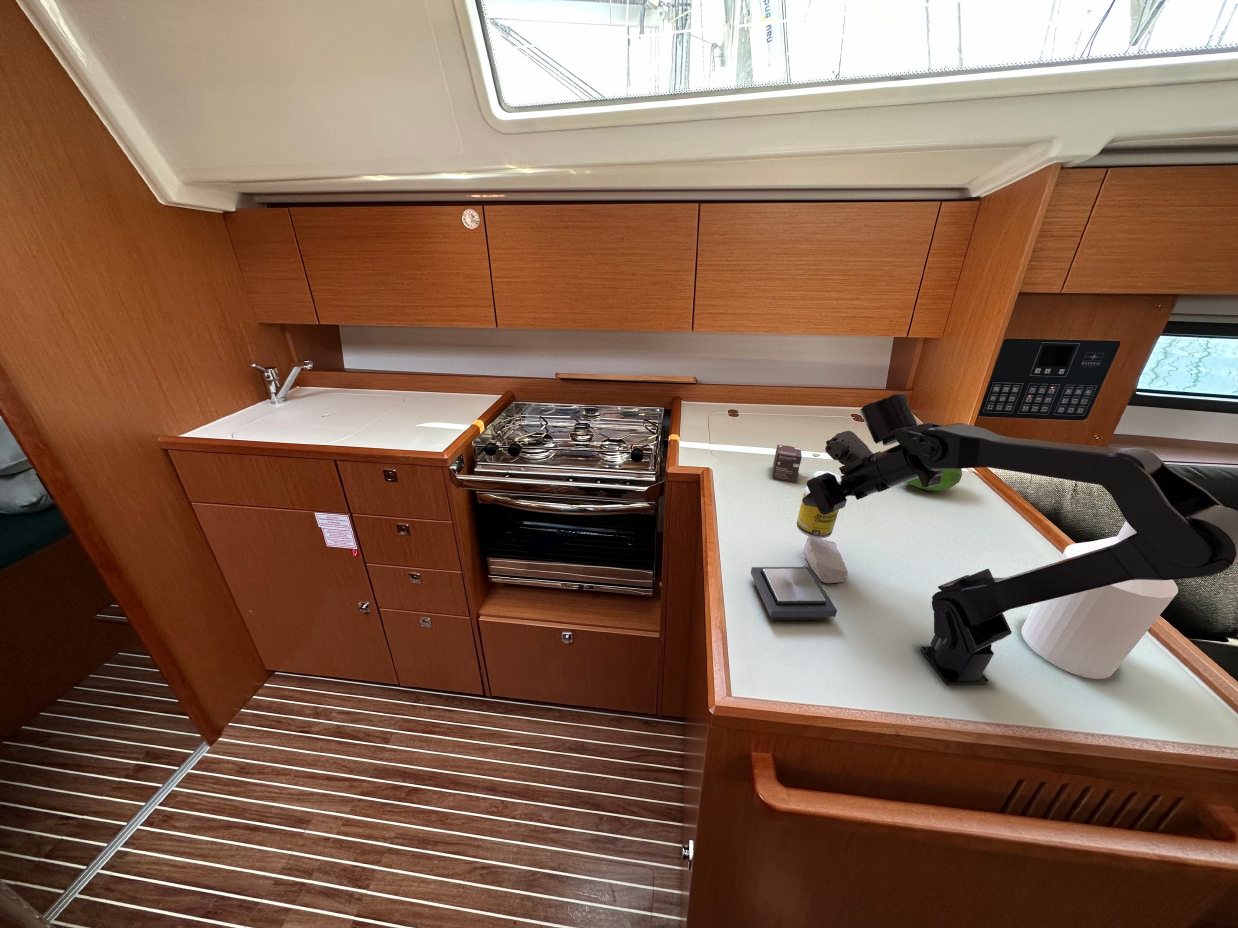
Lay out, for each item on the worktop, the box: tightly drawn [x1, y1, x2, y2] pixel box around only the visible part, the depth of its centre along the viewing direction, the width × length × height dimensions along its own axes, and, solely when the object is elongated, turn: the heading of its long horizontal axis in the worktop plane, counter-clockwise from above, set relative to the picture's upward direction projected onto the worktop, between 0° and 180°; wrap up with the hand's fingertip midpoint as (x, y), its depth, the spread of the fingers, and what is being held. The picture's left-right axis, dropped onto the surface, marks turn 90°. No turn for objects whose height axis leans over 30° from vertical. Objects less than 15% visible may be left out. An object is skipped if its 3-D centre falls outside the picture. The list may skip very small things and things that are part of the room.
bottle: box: [1021, 520, 1179, 680], centre depth 69 cm, size 12×12×25 cm
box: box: [771, 444, 803, 483], centre depth 122 cm, size 6×6×7 cm
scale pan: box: [762, 569, 826, 606], centre depth 81 cm, size 8×8×1 cm
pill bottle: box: [796, 470, 841, 539], centre depth 87 cm, size 6×6×12 cm
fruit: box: [905, 468, 963, 492], centre depth 118 cm, size 15×10×10 cm, turn 85°
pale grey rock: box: [802, 536, 848, 584], centre depth 90 cm, size 10×6×6 cm, turn 168°
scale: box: [750, 566, 838, 621], centre depth 81 cm, size 11×11×3 cm
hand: (815, 497), depth 88 cm, fingers closed on pill bottle, 6 cm apart
